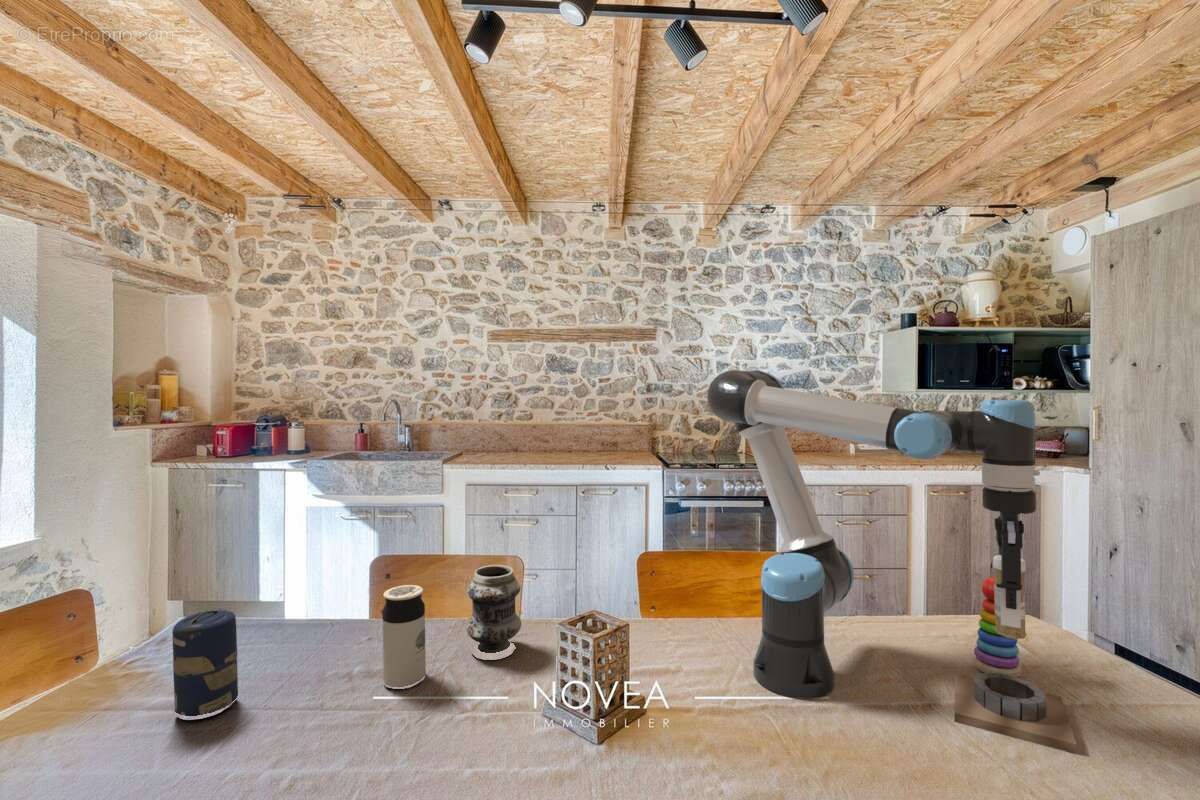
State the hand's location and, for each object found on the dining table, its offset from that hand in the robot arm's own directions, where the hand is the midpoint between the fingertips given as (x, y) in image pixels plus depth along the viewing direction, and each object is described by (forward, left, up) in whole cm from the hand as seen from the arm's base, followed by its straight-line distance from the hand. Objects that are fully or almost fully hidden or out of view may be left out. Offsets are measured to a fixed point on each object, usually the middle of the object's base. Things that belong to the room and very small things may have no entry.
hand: (1009, 620), depth 97 cm
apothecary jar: (-94, -31, -17) cm, 100 cm away
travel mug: (-100, -50, -17) cm, 113 cm away
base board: (0, 0, -16) cm, 16 cm away
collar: (0, 0, -15) cm, 15 cm away
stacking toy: (-1, +17, -17) cm, 24 cm away
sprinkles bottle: (0, 0, -3) cm, 3 cm away
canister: (-122, -76, -17) cm, 145 cm away
